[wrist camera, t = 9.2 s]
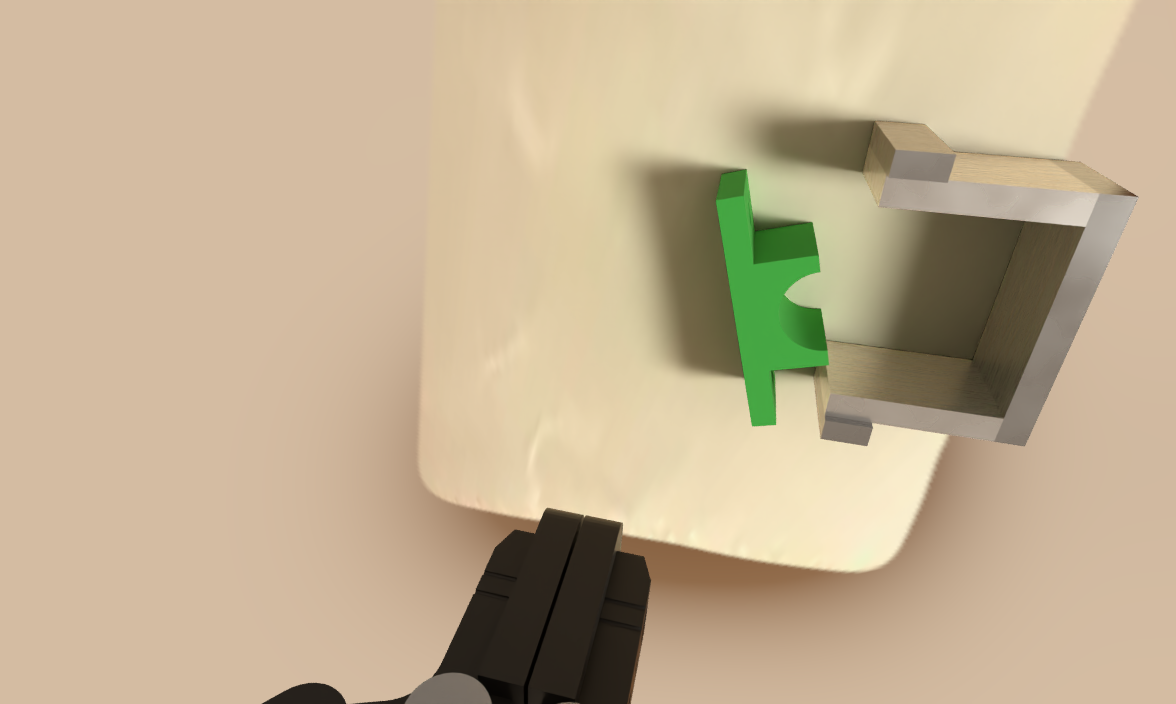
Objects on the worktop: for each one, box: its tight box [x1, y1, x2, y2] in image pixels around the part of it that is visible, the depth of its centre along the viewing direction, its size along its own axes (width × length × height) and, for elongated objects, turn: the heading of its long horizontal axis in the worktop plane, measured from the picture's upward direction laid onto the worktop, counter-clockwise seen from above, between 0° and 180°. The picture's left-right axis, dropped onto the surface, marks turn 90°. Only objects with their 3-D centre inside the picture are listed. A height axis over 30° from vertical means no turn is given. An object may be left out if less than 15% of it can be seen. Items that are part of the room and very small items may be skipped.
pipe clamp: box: [716, 170, 829, 426], centre depth 31 cm, size 11×4×5 cm, turn 14°
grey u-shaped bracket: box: [814, 121, 1138, 446], centre depth 28 cm, size 13×8×5 cm, turn 178°
